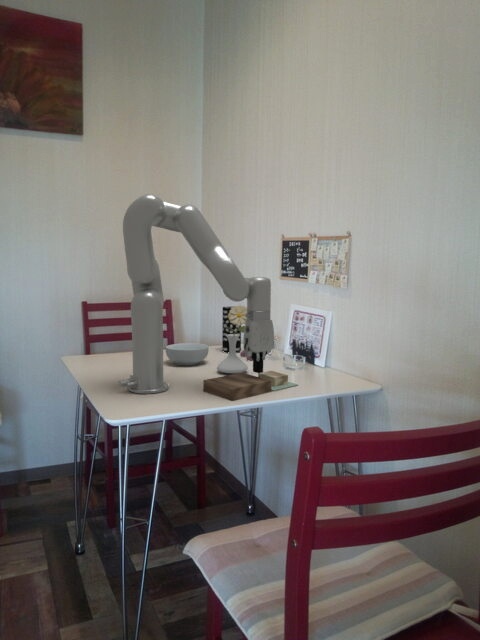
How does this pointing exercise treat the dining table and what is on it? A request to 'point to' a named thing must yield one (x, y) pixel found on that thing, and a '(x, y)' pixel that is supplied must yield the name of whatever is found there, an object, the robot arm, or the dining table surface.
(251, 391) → the serving board
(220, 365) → the flower in vase
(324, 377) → the dining table surface
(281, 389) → the rubber mat
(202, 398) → the dining table surface
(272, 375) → the beige block
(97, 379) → the dining table surface
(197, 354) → the cereal bowl
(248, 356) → the pink curved arch
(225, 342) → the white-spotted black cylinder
